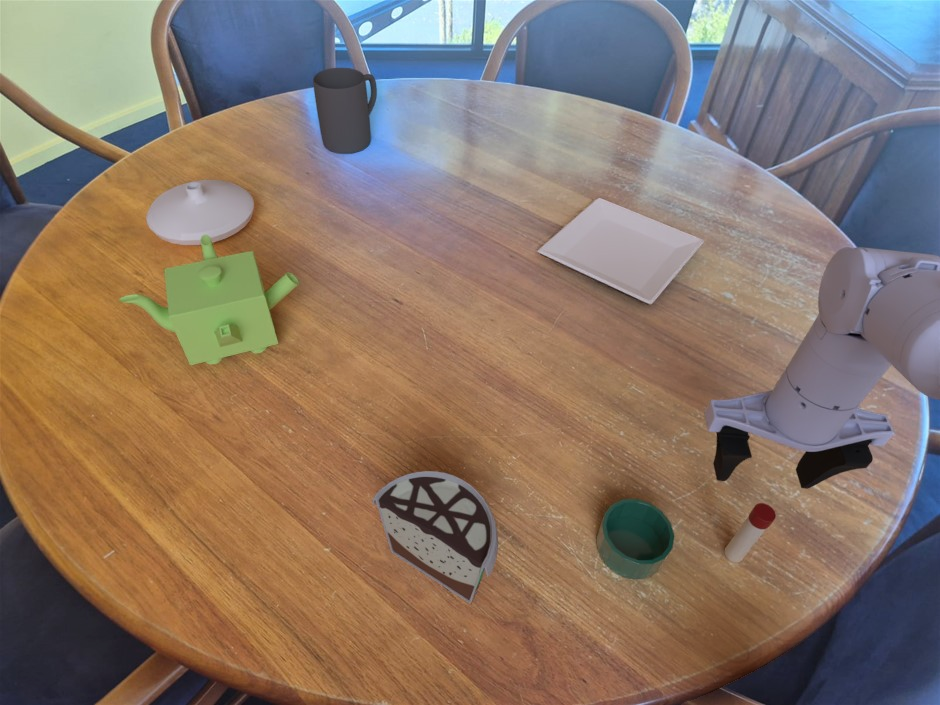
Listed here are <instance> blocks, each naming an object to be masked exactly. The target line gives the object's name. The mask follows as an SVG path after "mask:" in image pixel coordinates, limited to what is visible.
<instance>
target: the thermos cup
mask: <svg viewBox="0 0 940 705" xmlns="http://www.w3.org/2000/svg"><path fill="white" fill-rule="evenodd" d="M675 538H676V537H675V533H674V530H673V525H672V522H671V521H670V519H669V518H668V517H667V516H666V515H665V512H663V511H662V510H661V509H660V508H658V507H657V506H656V505H654V504H652V503H651V502H648V501H645V500H643V499H639V498H623V499H621V500H618V501H616V502H614V503H612V504H611V505H610V506H609V507H608V509H606V511H605V512H604V515H603V518H602V519H601V522H600V525H599V528H598V532H597V535H596V548H597V553H598V554H599V557H600V559H601V560H602V562H603V563H604V565H606V566H607V568H608V569H610V570H611V571H612V573H615V574H616V575H618V576H620V577H622V578H624V579H625V578H626V579H629V580H644V579H648V578H650V577H653V576H654V575H656V574H657V573H658V572H659V571H660V569H661V568H662V567H663V565H664V564H665V562H666V561H667V559H668V557H669V556H670V555H671V552H672V550H673V549H674V542H675Z"/></svg>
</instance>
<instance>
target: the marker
mask: <svg viewBox="0 0 940 705" xmlns="http://www.w3.org/2000/svg"><path fill="white" fill-rule="evenodd" d="M776 517H777V514H776V510H774V508H773V507H772V506H771V505H769V504H767V503H763V502H760V503H756V504H755V505H754V506H753V508H752V509H751V511H750V512H749V513H748V516H747V517H746V519H745V520H744V521H743V522H742V524H741V525H740V527H739V528H738V530H737V531H736V533H735V534H734V535H733V537H732V538H731V540H730V541H729V542H728V543H727V545H726V546H725V548H724V552H723V553H724V556H725V557H726V559H727V560H728V561H730V562H732V563H740V562H742V561H743V559H744V558H745V557H746V556H747V555H748V553H749V552H750V551H751V549H752V548H753V547H754V545H755V544H756V543H757V542H758V541H759V539H760V538H761V537H762V535H763V534H764V533H765V531H766V530H767V529H769V527H770V526H771V525H772V523H773V522H774V521H775V520H776Z"/></svg>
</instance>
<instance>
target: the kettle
mask: <svg viewBox="0 0 940 705" xmlns="http://www.w3.org/2000/svg"><path fill="white" fill-rule="evenodd" d="M200 246H201V251H202V257H203V260H199V261H195V262H191V263H184V264H179V265H175V266H170V267H167V268H164V269H163V271H164V281H165V282H164V283H165V292H166V302H167V307H165V306H162V305H161V304H160V303H159V304H158V302H156V300H153V298H151V297H149V296H147V295H144V294H138V293H134V294H128V295H124V296H121V297H120V298H118V301H119V303H124V304H131V305H136V306H138V307H140V308H142V309H143V311H145V312H146V313H147V314H148V315H149V316H150V317H151V318H152V319H153V320H154V321H155V322H156V323H157V324H158V325H159V326H160V327H162V329H164V330H166V331H169V332H172V333H175V335H176V337H177V339H178V341H179V344H180V346H181V348H182V350H183V352H184V355H185V357H186V359H187V361H188V364H189V365H190V366H194V365H198V364H202V363H206V364H208V365H217V364H219V363H220V362H221V361H222V360H223V359H224V358H226V357H231V356H235V355H239V354H244V353H247V352H250V353H253V354H260V353H263V352H264V351H266V350H267V348H268V347H272V346H276V345H279V340H278V337H277V333H276V332H277V331H276V329H275V325H274V320H273V316H272V313H271V310H272V309H273V308H274V307H275V306H276V305H277V304H278V303H280V302H281V301H282V300H283V299H284V298H285V297H287V296H288V295H289V294H290V293H291V292H292V291H294V290H295V289H296V288H297V287H298V286H300V281H299V279H298V278H297V277H296V275H294V274H293V273H291V272H288V271H287V272H286V273H285V274H283V275H282V276H281V277H280V278H279V279H278V280H277V281H276V282H274V284H273V285H272V286H270V287H268V289H267V290H266V291H265V287H264V284H263V280H262V277H261V273H260V270H259V266H258V263H257V260H256V255H255V252H254V250H250V251H244V252H240V253H234V254H229V255H225V256H220V257H219V256H218V254H217V252H216V250H215V247H214V243H212V241H211V238H210V237H209V236H208V235H203V236H202V237H201V245H200Z"/></svg>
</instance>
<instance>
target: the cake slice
mask: <svg viewBox="0 0 940 705" xmlns="http://www.w3.org/2000/svg"><path fill="white" fill-rule="evenodd" d="M375 504H376V507H377V510H378V513H379V517H380V520H381V523H382V527H383V530H384V533H385V538H386V540H387V543H388V547H389V549H390V550H389V551H390V553H391V554H393V555H394V556H396V557H398V558H399V559H401V560H402V561H403V562H405V563H407V564H408V565H410V566H411V567H413V568H414V569H416V570H418V571H419V572H420V573H422V574H424V575H425V576H427V577H428V578H429V579H431V580H433V581H434V582H436V583H437V584H439V585H441V586H442V587H443V588H445V589H447V590H448V591H450V592H451V593H453V594H454V595H456V596H458V597H459V598H460V599H461V600H463V601H465V602H467V603H468V604H469V605H471V604H472V603H473V601H474V599H475V597H476V595H477V593H478V589H479V587H480V584H481V581H482V578H483V575H484V572H485V575H486V577H487V578H489V577H490V575H491V573H492V571H493V570H494V567H495V564H496V561H497V557H498V552H499V533H498V528H497V524H496V521H495V517H494V515H493V512H492V509H491V508H490V506H489V503H488V502H487V501H486V499H485V498H484V497H483V496H482V494H481V493H480V492H479V491H478V490H477V489H476V488H474V487H473V486H472V485H471V484H469V483H468V482H467V481H465V480H464V479H462V478H460V477H457V476H455V475H452V474H449V473H446V472H441V471H435V470H433V471H432V470H431V471H430V470H424V471H416V472H412V473H408V474H404V475H402V476H399V477H397V478H395V479H393V480H392V481H390V482H388V483H387V484H386V485H384V486H383V487H382V488H380V489H379V490H378V491H377V493H376V494H375V495H374V496H373V497H372V502H371V505H372V506H374V505H375Z"/></svg>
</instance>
